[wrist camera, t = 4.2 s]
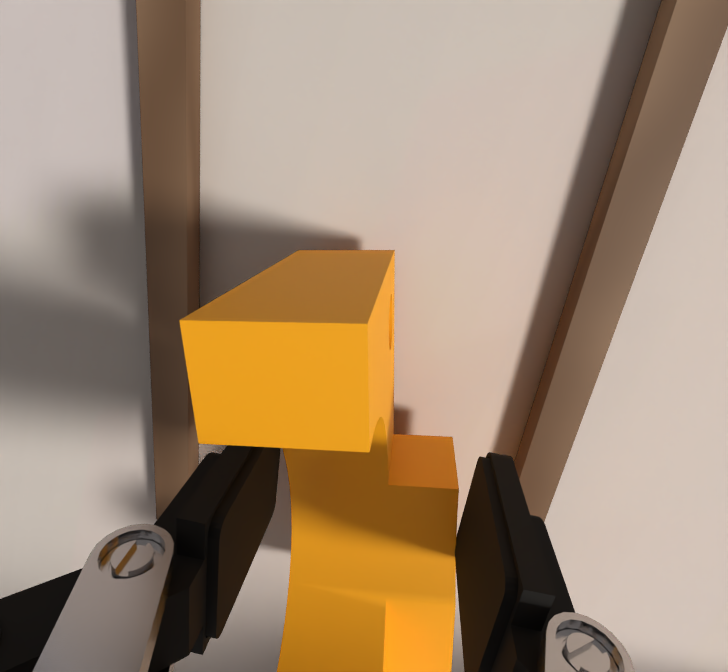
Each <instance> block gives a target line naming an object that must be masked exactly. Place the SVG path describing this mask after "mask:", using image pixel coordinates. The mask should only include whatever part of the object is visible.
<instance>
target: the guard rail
mask: <svg viewBox="0 0 728 672" xmlns="http://www.w3.org/2000/svg"><path fill="white" fill-rule="evenodd" d="M136 13H137V38H138V64H139V89H140V114H141V139H142V165H143V190H144V215H145V240H146V265H147V291H148V316H149V341H150V366H151V392H152V417H153V442H154V467H155V493H156V518H157V519H159V517H160V516H161V515H162V513H163V512H164V511H165V509H166V508H167V507H168V505H169V504H170V503H171V501H172V500H173V499H174V497H175V496H176V495H177V493H178V492H179V491H180V489H181V488H182V487H183V485H184V484H185V483H186V482H187V480H188V479H189V478H190V476H191V475H192V474H193V472H194V471H195V470H196V468H197V467H198V460H199V443H198V437H197V430H196V424H195V417H194V411H193V405H192V398H191V392H190V385H189V379H188V372H187V366H186V360H185V353H184V347H183V340H182V334H181V328H180V321H179V320H181V319H182V318H184V317H186V316H187V315H189V314H191V313H193V312H194V311H196V310H198V309H199V230H200V0H136ZM727 26H728V0H662V1H661V4H660V7H659V10H658V14H657V17H656V20H655V23H654V26H653V29H652V32H651V36H650V39H649V42H648V45H647V48H646V51H645V54H644V58H643V61H642V64H641V67H640V70H639V73H638V76H637V79H636V83H635V86H634V89H633V92H632V95H631V98H630V101H629V105H628V108H627V111H626V114H625V117H624V120H623V123H622V127H621V130H620V133H619V136H618V139H617V142H616V145H615V148H614V152H613V155H612V158H611V161H610V164H609V167H608V170H607V174H606V177H605V180H604V183H603V186H602V189H601V192H600V196H599V199H598V202H597V205H596V208H595V211H594V214H593V217H592V221H591V224H590V227H589V230H588V233H587V236H586V239H585V243H584V246H583V249H582V252H581V255H580V258H579V261H578V265H577V268H576V271H575V274H574V277H573V280H572V283H571V286H570V290H569V293H568V296H567V299H566V302H565V305H564V308H563V312H562V315H561V318H560V321H559V324H558V327H557V330H556V334H555V337H554V340H553V343H552V346H551V349H550V352H549V355H548V359H547V362H546V365H545V368H544V371H543V374H542V377H541V381H540V384H539V387H538V390H537V393H536V396H535V399H534V403H533V406H532V409H531V412H530V415H529V418H528V421H527V424H526V428H525V431H524V434H523V437H522V440H521V443H520V446H519V450H518V453H517V456H516V459H515V462H514V464H515V467H516V471H517V474H518V477H519V480H520V484H521V487H522V490H523V493H524V496H525V500H526V503H527V506H528V509H529V512H530V515H533V516H539V517H540V518H542V520H543V522H544V521H545V518H546V515H547V513H548V510H549V507H550V504H551V502H552V499H553V496H554V494H555V491H556V488H557V486H558V483H559V480H560V477H561V475H562V472H563V469H564V467H565V464H566V461H567V459H568V456H569V453H570V450H571V448H572V445H573V442H574V440H575V437H576V434H577V432H578V429H579V426H580V423H581V421H582V418H583V415H584V413H585V410H586V407H587V405H588V402H589V399H590V396H591V394H592V391H593V388H594V386H595V383H596V380H597V378H598V375H599V372H600V369H601V367H602V364H603V361H604V359H605V356H606V353H607V351H608V348H609V345H610V342H611V340H612V337H613V334H614V332H615V329H616V326H617V324H618V321H619V318H620V315H621V313H622V310H623V307H624V305H625V302H626V299H627V297H628V294H629V291H630V288H631V286H632V283H633V280H634V278H635V275H636V272H637V270H638V267H639V264H640V261H641V259H642V256H643V253H644V251H645V248H646V245H647V242H648V240H649V237H650V234H651V232H652V229H653V226H654V224H655V221H656V218H657V215H658V213H659V210H660V207H661V205H662V202H663V199H664V197H665V194H666V191H667V188H668V186H669V183H670V180H671V178H672V175H673V172H674V170H675V167H676V164H677V161H678V159H679V156H680V153H681V151H682V148H683V145H684V143H685V140H686V137H687V134H688V132H689V129H690V126H691V124H692V121H693V118H694V116H695V113H696V110H697V107H698V105H699V102H700V99H701V97H702V94H703V91H704V89H705V86H706V83H707V80H708V78H709V75H710V72H711V70H712V67H713V64H714V62H715V59H716V56H717V53H718V51H719V48H720V45H721V43H722V40H723V37H724V35H725V32H726V29H727Z"/></svg>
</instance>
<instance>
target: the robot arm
mask: <svg viewBox="0 0 728 672" xmlns="http://www.w3.org/2000/svg"><path fill="white" fill-rule="evenodd" d="M279 459H280V448H274V447H255V446H236V445H227V447H226V448H225V449H224V451H223V452H222V454H218V453H212V452H211V453H208V454H207V455H206V457H205V458H204V459H203V460H202V462H201V463H200V464H199V466H198V467H197V468H196V470H195V471H194V472H193V474H192V475H191V476H190V478H189V479H188V480H187V482H186V483H185V484H184V485H183V487H182V488H181V489H180V491H179V492H178V493H177V495H176V496H175V497H174V499H173V500H172V501H171V503H170V504H169V505H168V507H167V508H166V509H165V511H164V512H163V513H162V515H161V516H160V517H159V519H158V520H157V521H156V523H155V524H154V525H150V524H137V525H130V526H127V527H124V528H121V529H118V530H116V531H114V532H112V533H111V534H109V535H107V536H106V537H104V538H103V539H102V540H101V541H100V542H99V543H97V544H96V546H95V547H94V549H93V550H92V552H91V553H90V555H89V557H88V559H87V561H86V563H85V565H84V567H83V568H82V569H79V570H77V571H74V572H71V573H69V574H66V575H63V576H61V577H58V578H55V579H53V580H50V581H47V582H45V583H42V584H39V585H37V586H34V587H31V588H29V589H26V590H23V591H21V592H18V593H15V594H12V595H10V596H7V597H4V598H2V599H0V672H173V671H174V666H175V662H177V661H179V660H181V659H183V658H185V657H186V656H188V655H189V654H190V652H193V653H197V654H202V655H203V653H204V651H205V649H206V646H207V644H208V642H209V640H210V638H211V637H212V638H216V639H218V638H219V636H220V635H221V633H222V631H223V628H224V626H225V624H226V621H227V619H228V617H229V614H230V612H231V610H232V607H233V605H234V603H235V601H236V598H237V596H238V594H239V591H240V589H241V587H242V584H243V582H244V580H245V577H246V575H247V573H248V571H249V568H250V566H251V564H252V561H253V559H254V557H255V554H256V552H257V550H258V547H259V545H260V543H261V540H262V538H263V536H264V534H265V531H266V529H267V527H268V524H269V522H270V520H271V517H272V515H273V512H274V508H275V503H276V492H277V481H278V470H279ZM455 562H456V574H457V586H458V598H459V610H460V622H461V634H462V646H463V658H464V670H465V672H635V671H634V668H633V664H632V661H631V658H630V656H629V654H628V653H627V651H626V649H625V648H624V646H623V645H622V643H621V642H620V641H619V640H618V639H617V638H616V637H615V636H614V635H613V633H612V632H610V631H609V630H608V629H607V628H605V627H604V626H603V625H601V624H600V623H599V622H597V621H595V620H593V619H591V618H589V617H587V616H584V615H581V614H578V613H575V611H574V608H573V605H572V602H571V599H570V596H569V593H568V590H567V587H566V584H565V582H564V579H563V576H562V573H561V570H560V567H559V564H558V561H557V558H556V555H555V552H554V550H553V547H552V544H551V541H550V538H549V535H548V532H547V529H546V526H545V524H544V522H543V520H542V518H540V517H539V516H533V515H530V512H529V509H528V506H527V503H526V500H525V496H524V493H523V490H522V487H521V484H520V480H519V477H518V474H517V471H516V467H515V464H514V461H513V458H512V457H511V456H506V455H500V454H495V453H490V452H489V453H488V454H487V456H486V458H485V457H479V459H478V461H477V465H476V468H475V472H474V475H473V479H472V483H471V486H470V490H469V494H468V497H467V501H466V504H465V508H464V512H463V515H462V519H461V522H460V526H459V530H458V533H457V537H456V547H455Z"/></svg>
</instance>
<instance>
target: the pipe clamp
mask: <svg viewBox="0 0 728 672" xmlns="http://www.w3.org/2000/svg"><path fill="white" fill-rule="evenodd" d="M394 256H395V250H298V251H296V252H295V253H293V254H291V255H290V256H288V257H286V258H285V259H283V260H281V261H279V262H278V263H276V264H274V265H273V266H271V267H269V268H267V269H266V270H264V271H262V272H261V273H259V274H257V275H256V276H254V277H252V278H250V279H249V280H247V281H245V282H244V283H242V284H240V285H239V286H237V287H235V288H233V289H232V290H230V291H228V292H227V293H225V294H223V295H221V296H220V297H218V298H216V299H215V300H213V301H211V302H210V303H208V304H206V305H204V306H203V307H201V308H199V309H198V310H196V311H194V312H193V313H191V314H189V315H187V316H186V317H184V318H182V319H181V320H179V321H180V328H181V334H182V340H183V347H184V353H185V360H186V366H187V372H188V379H189V385H190V392H191V398H192V405H193V411H194V417H195V424H196V430H197V437H198V443H199V444H217V445H236V446H255V447H274V448H282V449H283V452H284V456H285V460H286V465H287V471H288V478H289V485H290V497H291V521H292V535H291V563H290V577H289V588H288V599H287V607H286V616H285V623H284V631H283V638H282V644H281V650H280V656H279V662H278V668H277V672H451V666H452V651H453V635H454V620H455V573H456V562H455V547H456V530H457V509H458V493H459V487H458V479H457V470H456V462H455V454H454V446H453V438H452V437H442V436H421V435H400V434H394Z"/></svg>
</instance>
